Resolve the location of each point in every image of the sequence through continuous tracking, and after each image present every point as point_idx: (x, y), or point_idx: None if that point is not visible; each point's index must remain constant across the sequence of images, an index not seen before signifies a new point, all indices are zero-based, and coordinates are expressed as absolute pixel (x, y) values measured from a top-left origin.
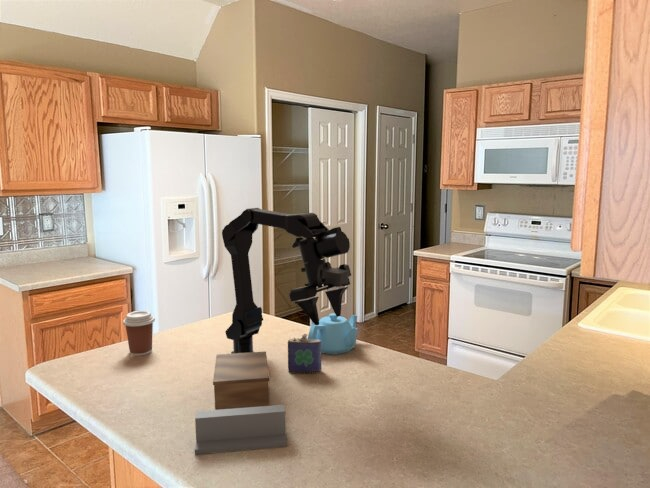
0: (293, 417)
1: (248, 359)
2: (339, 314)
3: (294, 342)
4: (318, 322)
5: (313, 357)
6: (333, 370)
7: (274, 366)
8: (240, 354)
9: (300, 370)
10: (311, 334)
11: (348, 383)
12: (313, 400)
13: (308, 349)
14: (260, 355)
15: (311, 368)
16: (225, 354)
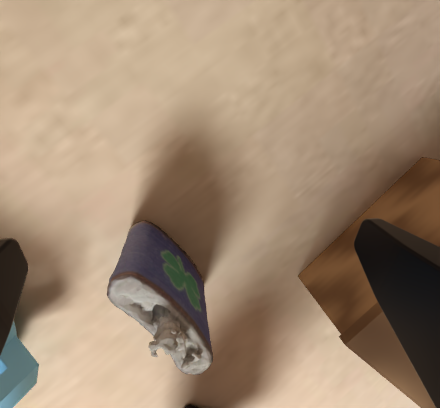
0: (412, 95)
1: None
2: (5, 247)
3: (205, 343)
4: (388, 225)
5: (160, 256)
6: (100, 198)
7: None
8: (403, 376)
9: (189, 263)
10: (16, 390)
11: (149, 93)
12: (309, 113)
13: (173, 284)
14: (383, 331)
15: (167, 242)
16: (420, 402)
